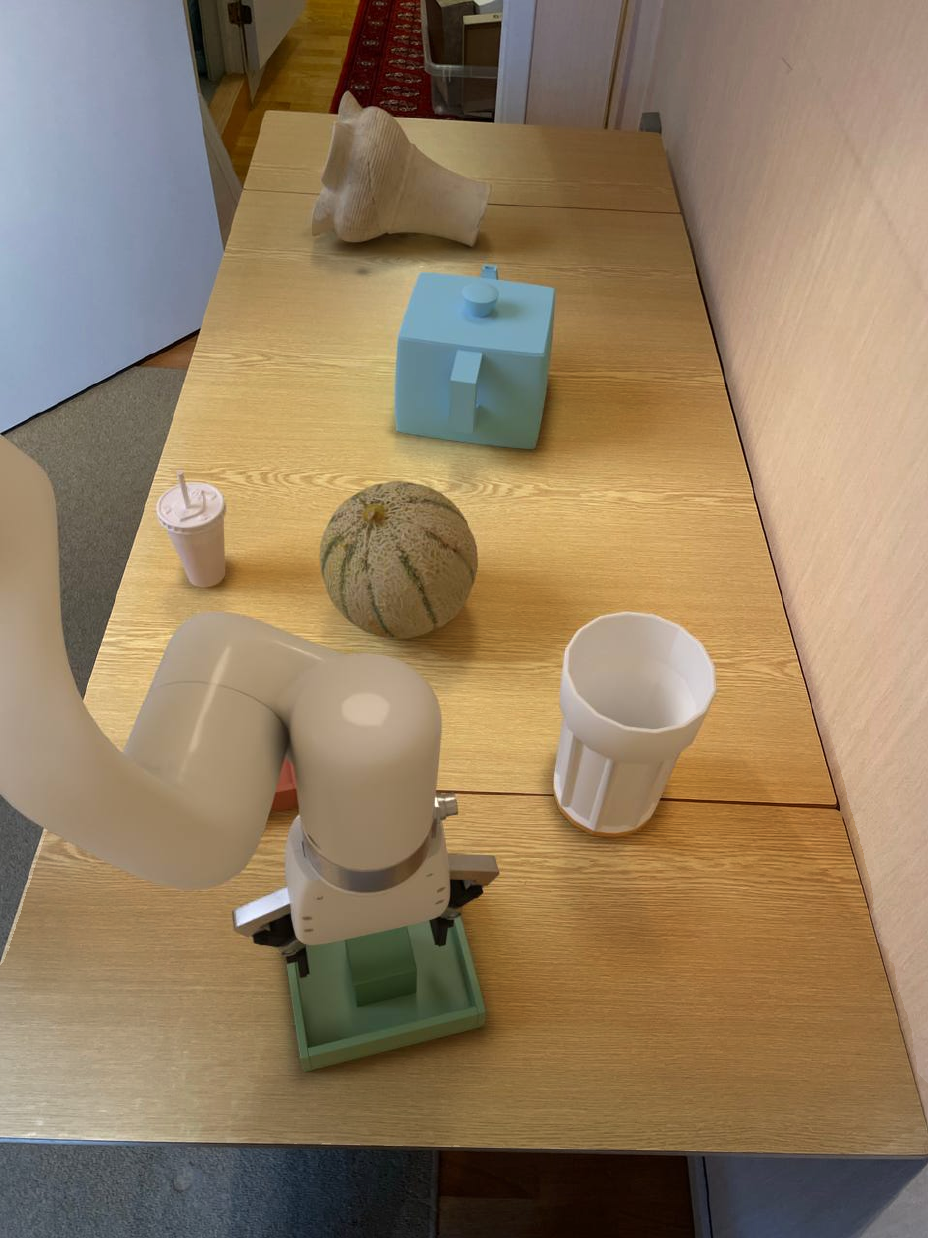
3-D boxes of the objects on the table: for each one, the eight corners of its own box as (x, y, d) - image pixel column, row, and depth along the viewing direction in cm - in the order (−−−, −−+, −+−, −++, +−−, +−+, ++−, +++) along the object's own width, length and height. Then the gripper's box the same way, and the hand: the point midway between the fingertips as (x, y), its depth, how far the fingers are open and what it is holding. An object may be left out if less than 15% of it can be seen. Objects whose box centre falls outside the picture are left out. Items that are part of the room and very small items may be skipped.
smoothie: (163, 590, 98) (133, 484, 87) (190, 545, 102) (164, 439, 91) (224, 603, 97) (201, 498, 86) (248, 558, 101) (229, 452, 90)
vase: (534, 123, 141) (344, 57, 136) (539, 167, 124) (323, 94, 120) (488, 266, 154) (313, 211, 150) (487, 324, 138) (290, 264, 133)
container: (385, 457, 112) (382, 341, 100) (423, 334, 128) (424, 221, 116) (533, 477, 111) (548, 362, 99) (553, 350, 127) (567, 238, 115)
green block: (356, 1007, 72) (354, 985, 68) (345, 949, 74) (342, 924, 71) (416, 993, 72) (417, 970, 69) (403, 935, 75) (403, 911, 72)
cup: (513, 795, 84) (532, 672, 71) (590, 714, 90) (621, 587, 77) (621, 876, 80) (662, 762, 67) (695, 786, 86) (747, 665, 72)
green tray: (304, 1072, 69) (300, 1059, 67) (282, 923, 76) (278, 906, 74) (484, 1026, 72) (486, 1012, 69) (447, 886, 79) (448, 869, 76)
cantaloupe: (501, 597, 99) (513, 486, 88) (418, 694, 91) (419, 585, 79) (383, 537, 104) (379, 423, 92) (293, 623, 96) (278, 511, 84)
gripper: (494, 744, 60) (473, 868, 74) (208, 796, 57) (239, 918, 70) (529, 853, 56) (501, 965, 69) (221, 918, 52) (252, 1023, 65)
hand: (369, 941), depth 69 cm, fingers open, 9 cm apart
